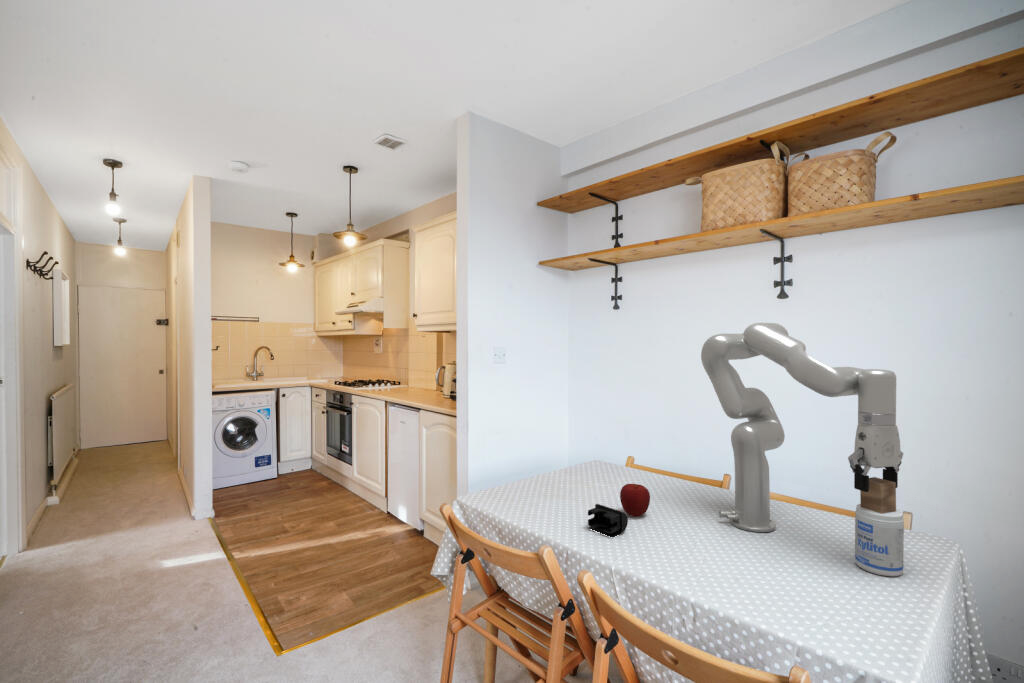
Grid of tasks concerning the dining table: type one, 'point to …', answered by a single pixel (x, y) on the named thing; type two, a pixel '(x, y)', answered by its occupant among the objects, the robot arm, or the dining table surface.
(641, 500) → the apple
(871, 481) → the walnut block
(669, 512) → the dining table surface
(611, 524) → the end cap
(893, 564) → the supplement tub
